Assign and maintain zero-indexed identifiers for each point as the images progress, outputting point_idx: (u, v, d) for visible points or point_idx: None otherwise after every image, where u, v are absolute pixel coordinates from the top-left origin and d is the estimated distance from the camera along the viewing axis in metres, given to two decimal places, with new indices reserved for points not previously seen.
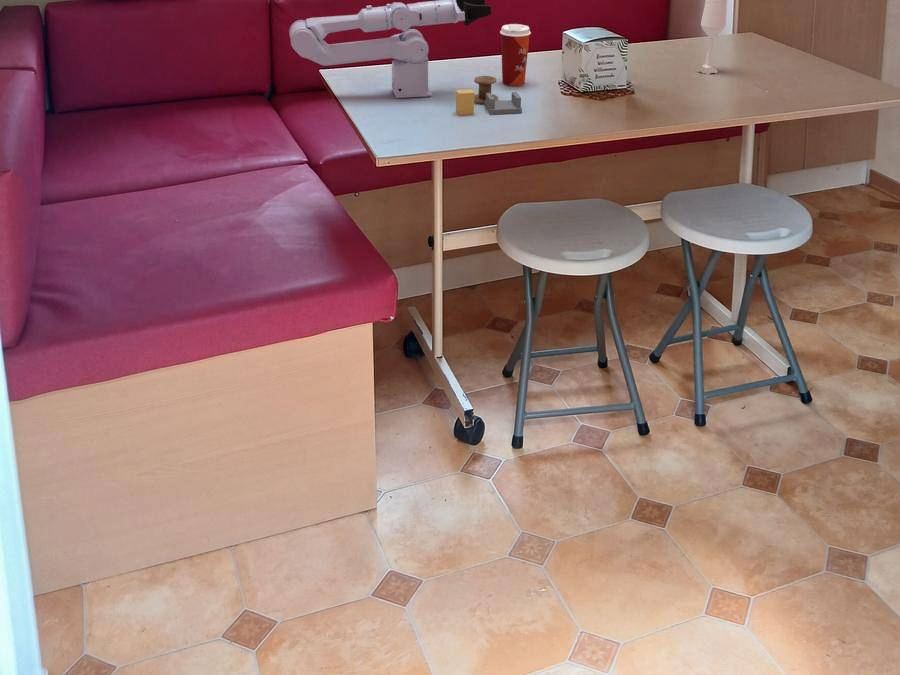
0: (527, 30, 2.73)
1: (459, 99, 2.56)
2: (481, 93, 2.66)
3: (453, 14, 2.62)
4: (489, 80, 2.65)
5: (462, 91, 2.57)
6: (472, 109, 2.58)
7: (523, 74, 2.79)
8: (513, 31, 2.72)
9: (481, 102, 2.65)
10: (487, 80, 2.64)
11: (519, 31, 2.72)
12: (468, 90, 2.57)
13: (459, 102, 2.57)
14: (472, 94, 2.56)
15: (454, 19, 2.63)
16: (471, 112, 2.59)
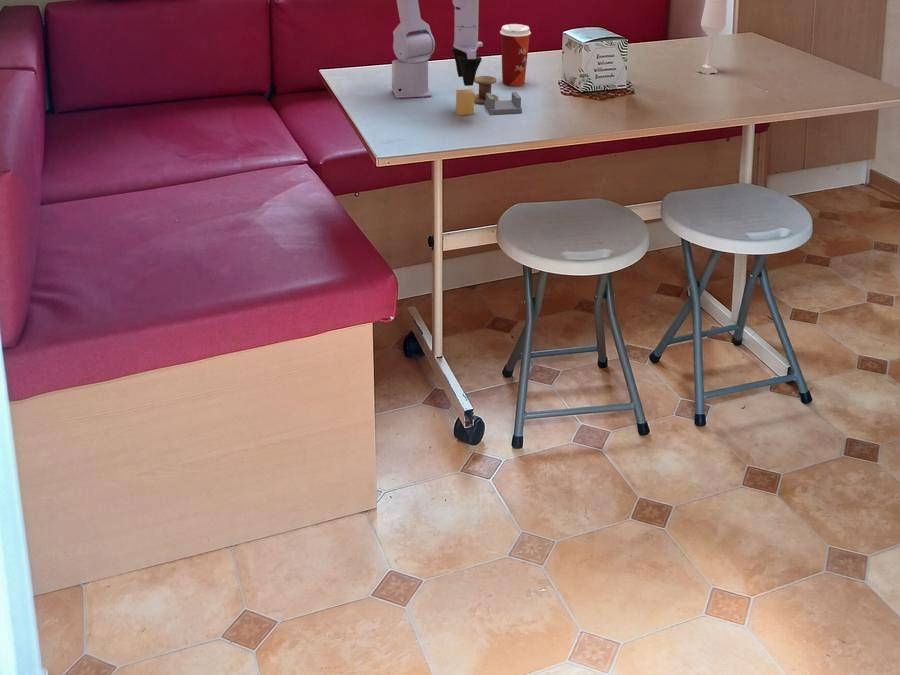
0: (527, 30, 2.73)
1: (459, 99, 2.56)
2: (481, 93, 2.66)
3: (467, 45, 2.48)
4: (489, 80, 2.65)
5: (462, 91, 2.57)
6: (472, 109, 2.58)
7: (523, 74, 2.79)
8: (513, 31, 2.72)
9: (481, 102, 2.65)
10: (487, 80, 2.64)
11: (519, 31, 2.72)
12: (468, 90, 2.57)
13: (459, 102, 2.57)
14: (472, 94, 2.56)
15: (461, 46, 2.49)
16: (471, 112, 2.59)
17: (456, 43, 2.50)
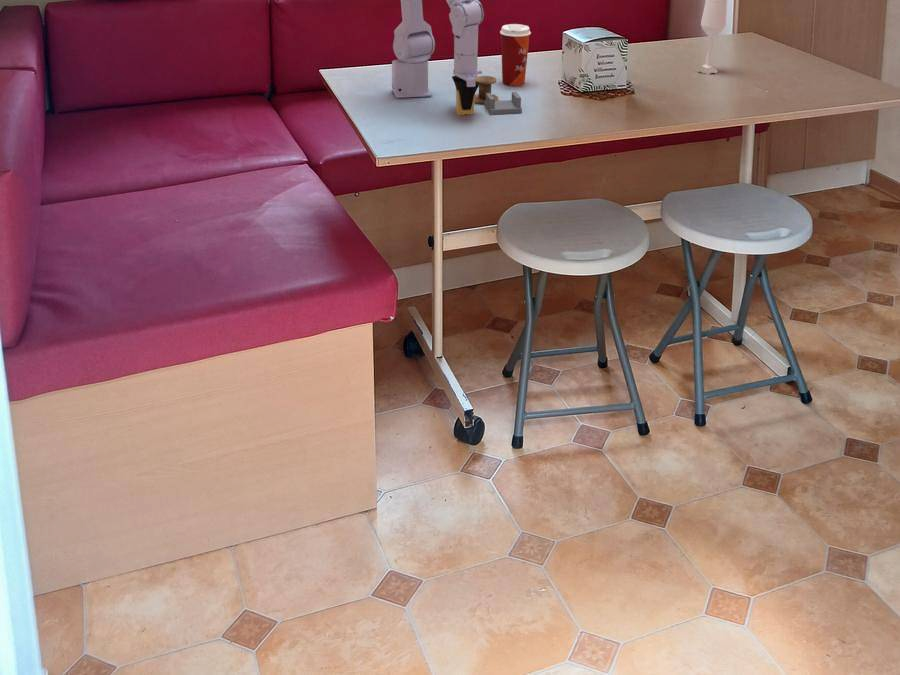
0: (527, 30, 2.73)
1: (459, 99, 2.56)
2: (481, 93, 2.66)
3: (466, 72, 2.52)
4: (489, 80, 2.65)
5: None
6: (472, 109, 2.58)
7: (523, 74, 2.79)
8: (513, 31, 2.72)
9: (481, 102, 2.65)
10: (487, 80, 2.64)
11: (519, 31, 2.72)
12: None
13: (459, 102, 2.57)
14: None
15: (460, 73, 2.52)
16: (471, 112, 2.58)
17: (456, 71, 2.53)
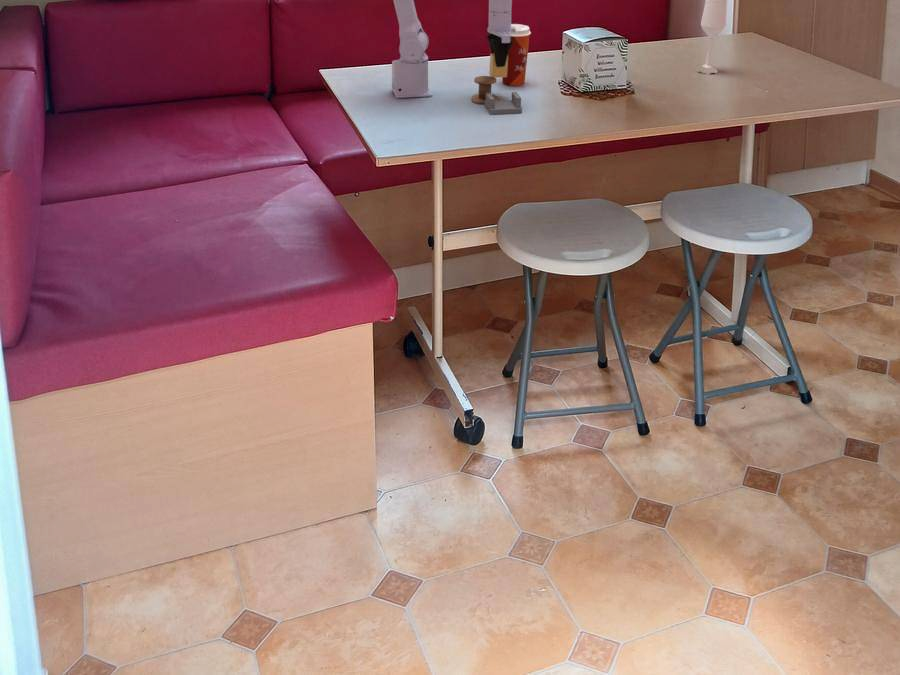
0: (527, 30, 2.73)
1: (493, 62, 2.65)
2: (481, 93, 2.66)
3: (501, 30, 2.60)
4: (489, 80, 2.65)
5: None
6: (505, 72, 2.67)
7: (523, 74, 2.79)
8: (513, 31, 2.72)
9: (481, 102, 2.65)
10: (487, 80, 2.64)
11: (519, 31, 2.72)
12: None
13: (493, 64, 2.65)
14: None
15: (495, 30, 2.60)
16: (504, 75, 2.67)
17: (490, 28, 2.61)
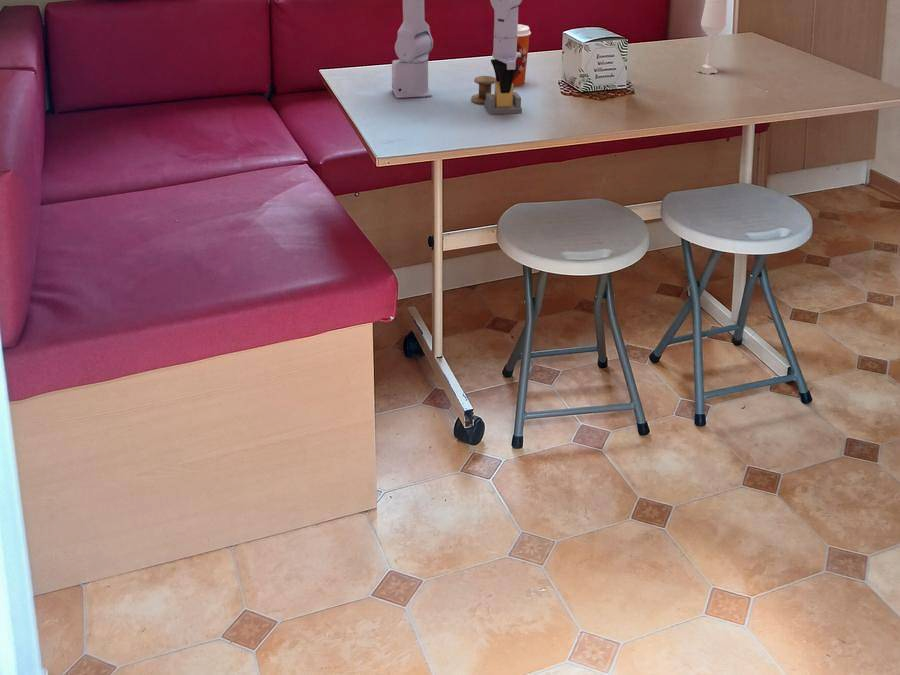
0: (527, 30, 2.73)
1: (498, 90, 2.58)
2: (481, 93, 2.66)
3: (506, 56, 2.53)
4: (489, 80, 2.65)
5: None
6: (510, 101, 2.60)
7: (523, 74, 2.79)
8: None
9: (481, 102, 2.65)
10: (487, 80, 2.64)
11: (519, 31, 2.72)
12: None
13: (498, 93, 2.58)
14: (511, 86, 2.58)
15: (500, 56, 2.53)
16: (509, 104, 2.60)
17: (495, 54, 2.54)
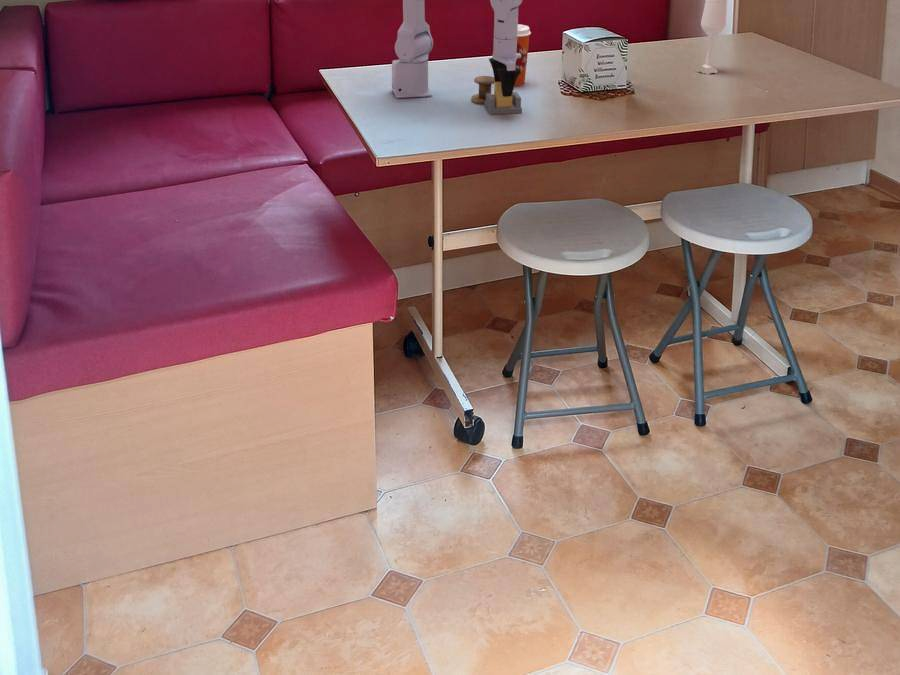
0: (527, 30, 2.73)
1: (498, 91, 2.58)
2: (481, 93, 2.66)
3: (506, 57, 2.53)
4: (489, 80, 2.65)
5: None
6: (510, 101, 2.60)
7: (523, 74, 2.79)
8: None
9: (481, 102, 2.65)
10: (487, 80, 2.64)
11: (519, 31, 2.72)
12: None
13: (497, 94, 2.58)
14: None
15: (500, 57, 2.53)
16: (509, 104, 2.60)
17: (495, 55, 2.54)
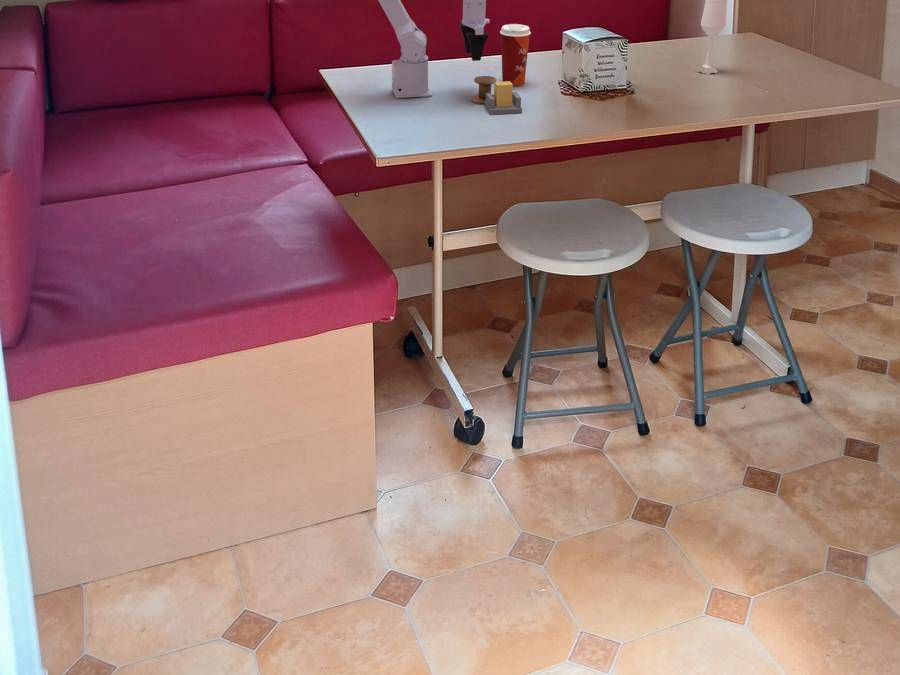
0: (527, 30, 2.73)
1: (498, 91, 2.58)
2: (481, 93, 2.66)
3: (475, 21, 2.61)
4: (489, 80, 2.65)
5: (501, 83, 2.59)
6: (510, 101, 2.60)
7: (523, 74, 2.79)
8: (513, 31, 2.72)
9: (481, 102, 2.65)
10: (487, 80, 2.64)
11: (519, 31, 2.72)
12: (506, 82, 2.59)
13: (497, 94, 2.58)
14: (510, 86, 2.58)
15: (469, 22, 2.61)
16: (509, 104, 2.60)
17: (464, 20, 2.62)
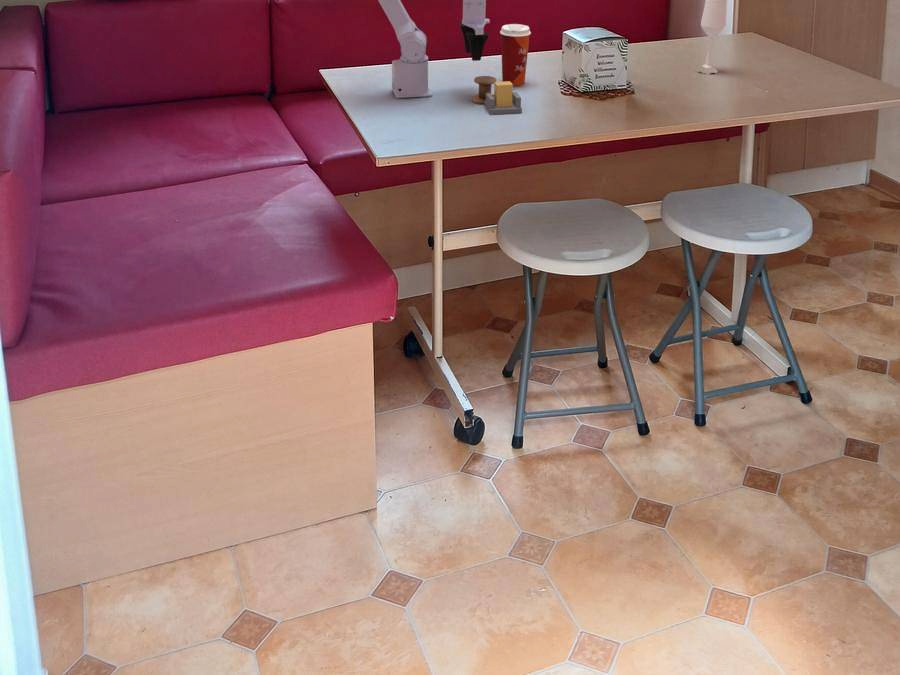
0: (527, 30, 2.73)
1: (498, 91, 2.58)
2: (481, 93, 2.66)
3: (475, 21, 2.61)
4: (489, 80, 2.65)
5: (501, 83, 2.59)
6: (510, 101, 2.60)
7: (523, 74, 2.79)
8: (513, 31, 2.72)
9: (481, 102, 2.65)
10: (487, 80, 2.64)
11: (519, 31, 2.72)
12: (506, 82, 2.59)
13: (497, 94, 2.58)
14: (510, 86, 2.58)
15: (469, 22, 2.61)
16: (509, 104, 2.60)
17: (464, 20, 2.62)
